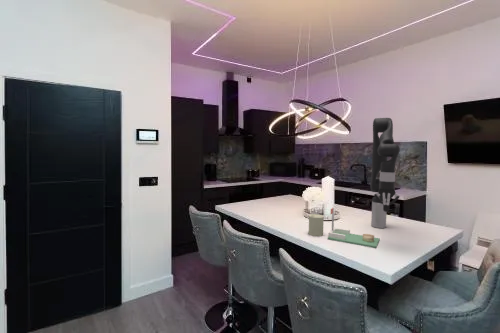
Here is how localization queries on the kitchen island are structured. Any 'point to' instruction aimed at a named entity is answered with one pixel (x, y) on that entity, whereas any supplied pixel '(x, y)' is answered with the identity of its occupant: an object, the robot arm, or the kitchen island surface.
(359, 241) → the putting green
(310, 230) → the can
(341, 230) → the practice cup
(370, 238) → the puck
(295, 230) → the kitchen island surface
